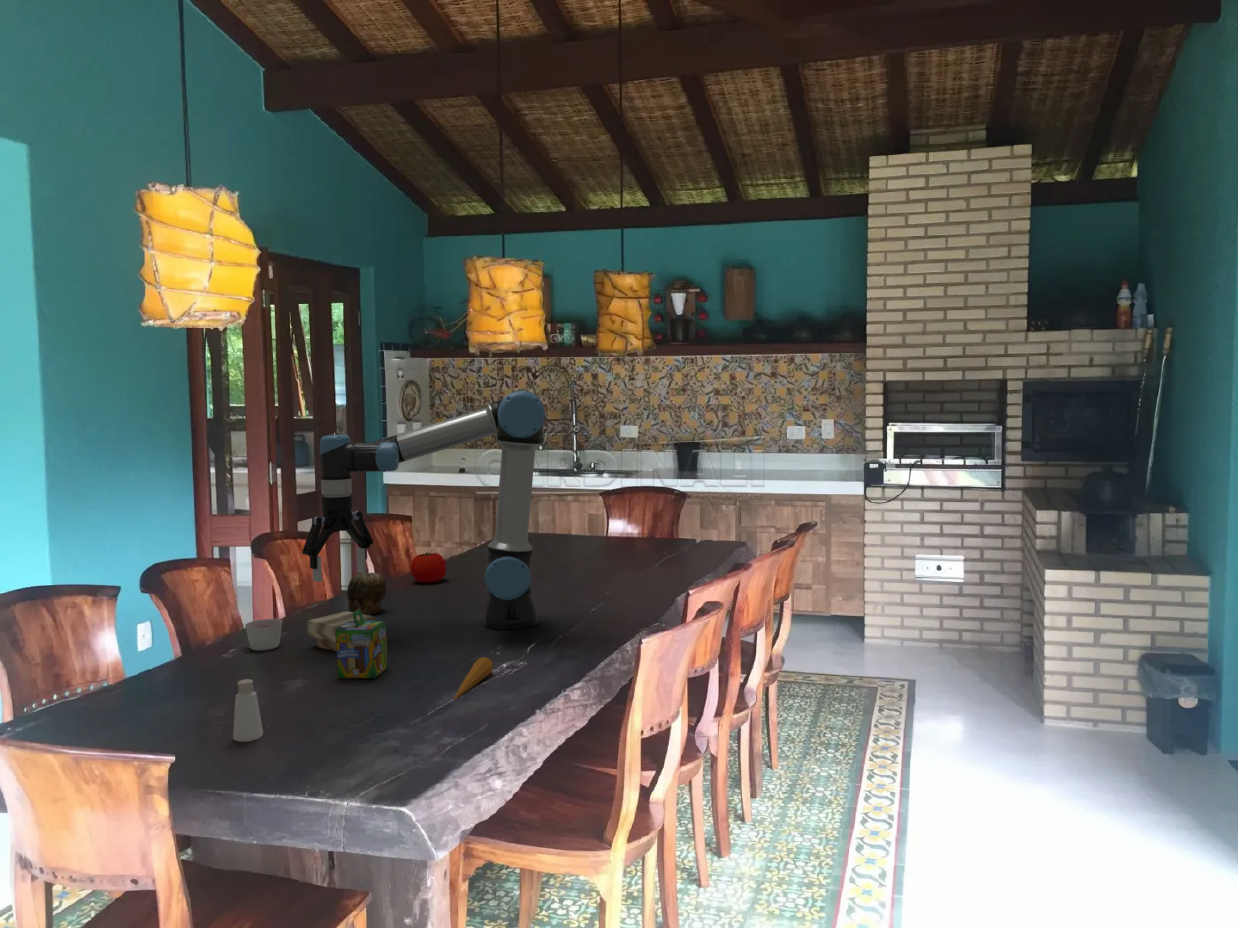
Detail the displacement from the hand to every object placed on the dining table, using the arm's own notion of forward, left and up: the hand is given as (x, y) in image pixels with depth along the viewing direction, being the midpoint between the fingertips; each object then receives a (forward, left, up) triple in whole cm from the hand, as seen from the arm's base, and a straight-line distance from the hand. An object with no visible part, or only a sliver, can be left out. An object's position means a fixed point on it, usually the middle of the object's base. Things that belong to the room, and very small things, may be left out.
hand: (339, 576), depth 250 cm
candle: (+14, +13, -18) cm, 26 cm away
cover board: (-2, +1, -14) cm, 15 cm away
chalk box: (-26, +14, -18) cm, 35 cm away
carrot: (-54, +8, -18) cm, 57 cm away
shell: (+21, -26, -18) cm, 38 cm away
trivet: (-2, +1, -17) cm, 18 cm away
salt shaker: (-40, +53, -18) cm, 69 cm away
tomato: (+38, -66, -18) cm, 78 cm away
